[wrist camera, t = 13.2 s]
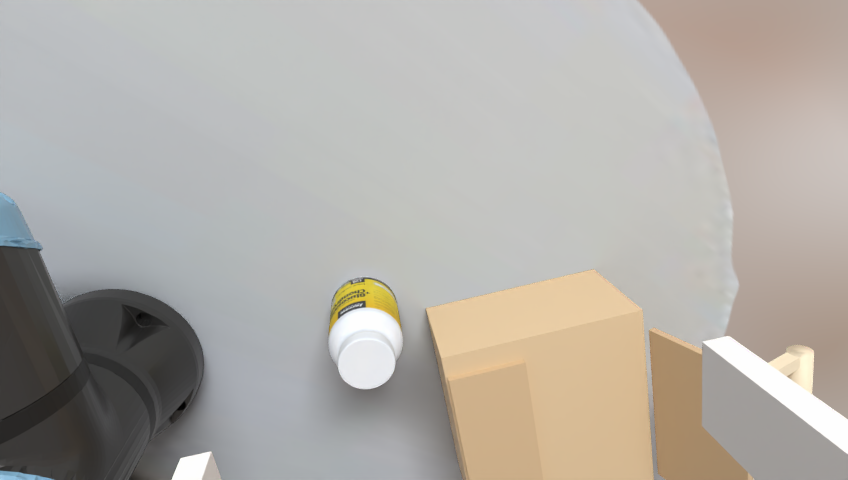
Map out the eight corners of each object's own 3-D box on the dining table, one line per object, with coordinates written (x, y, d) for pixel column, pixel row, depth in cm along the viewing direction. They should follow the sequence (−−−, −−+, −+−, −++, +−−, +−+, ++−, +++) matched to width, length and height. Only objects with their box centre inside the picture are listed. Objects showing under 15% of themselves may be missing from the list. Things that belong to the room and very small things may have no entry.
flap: (752, 544, 44) (811, 500, 47) (753, 378, 39) (820, 340, 42) (657, 473, 53) (712, 440, 55) (649, 330, 48) (709, 300, 50)
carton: (458, 465, 62) (479, 542, 52) (425, 308, 55) (442, 361, 45) (608, 427, 63) (657, 495, 53) (593, 269, 57) (645, 312, 47)
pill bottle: (379, 263, 53) (386, 314, 42) (406, 316, 55) (420, 377, 44) (319, 291, 53) (311, 349, 42) (349, 343, 56) (349, 411, 45)
